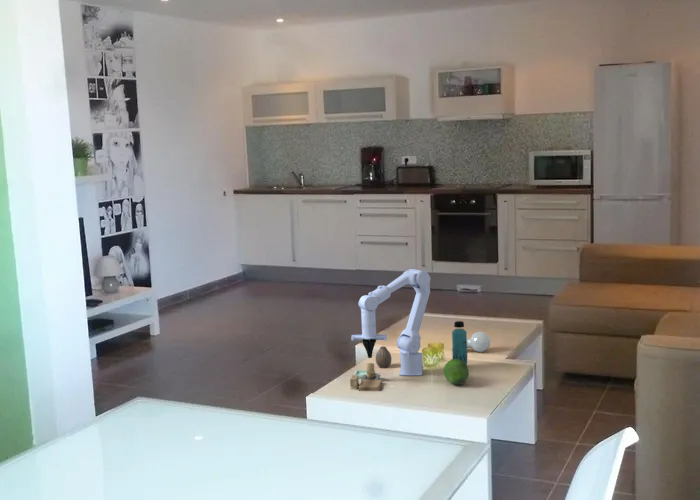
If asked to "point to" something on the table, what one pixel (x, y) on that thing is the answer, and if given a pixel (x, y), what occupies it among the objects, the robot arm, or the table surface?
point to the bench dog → (354, 382)
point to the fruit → (456, 371)
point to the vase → (383, 358)
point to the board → (370, 385)
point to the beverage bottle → (459, 342)
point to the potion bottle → (479, 342)
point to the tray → (361, 373)
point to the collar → (377, 377)
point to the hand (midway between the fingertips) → (370, 357)
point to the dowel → (370, 371)
